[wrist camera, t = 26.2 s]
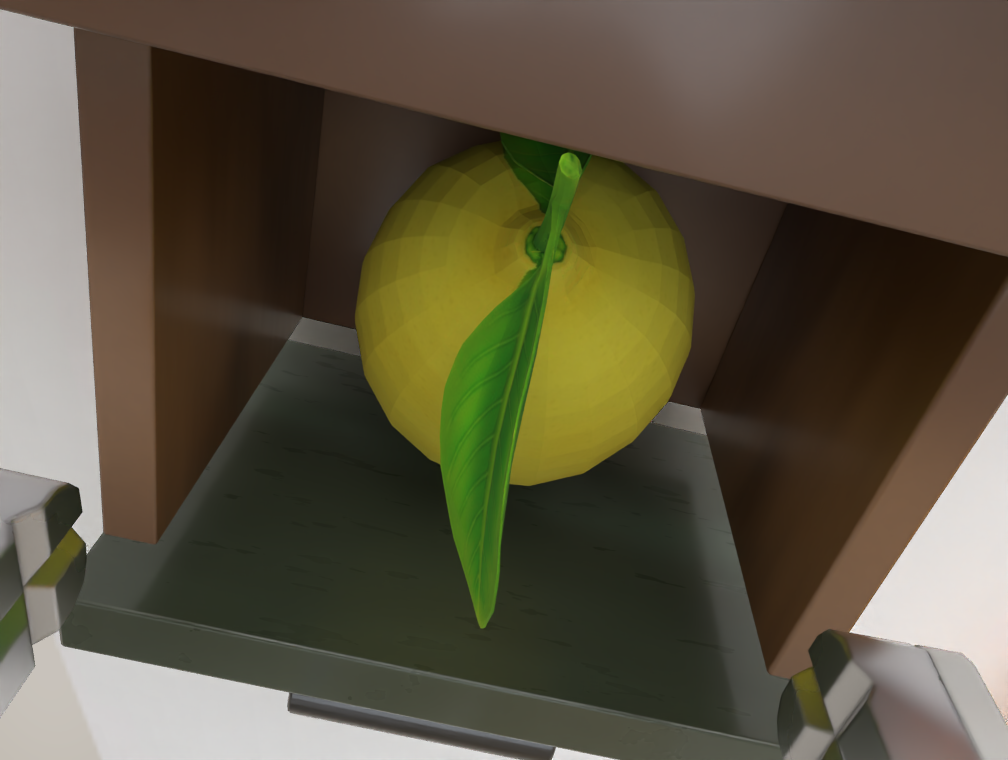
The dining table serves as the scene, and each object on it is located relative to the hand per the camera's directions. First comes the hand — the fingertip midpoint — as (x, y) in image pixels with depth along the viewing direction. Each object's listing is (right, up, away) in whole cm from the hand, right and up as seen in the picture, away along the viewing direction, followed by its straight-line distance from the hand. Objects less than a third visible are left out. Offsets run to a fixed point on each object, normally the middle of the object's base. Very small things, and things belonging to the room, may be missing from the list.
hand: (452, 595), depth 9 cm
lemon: (+1, +3, +9) cm, 9 cm away
